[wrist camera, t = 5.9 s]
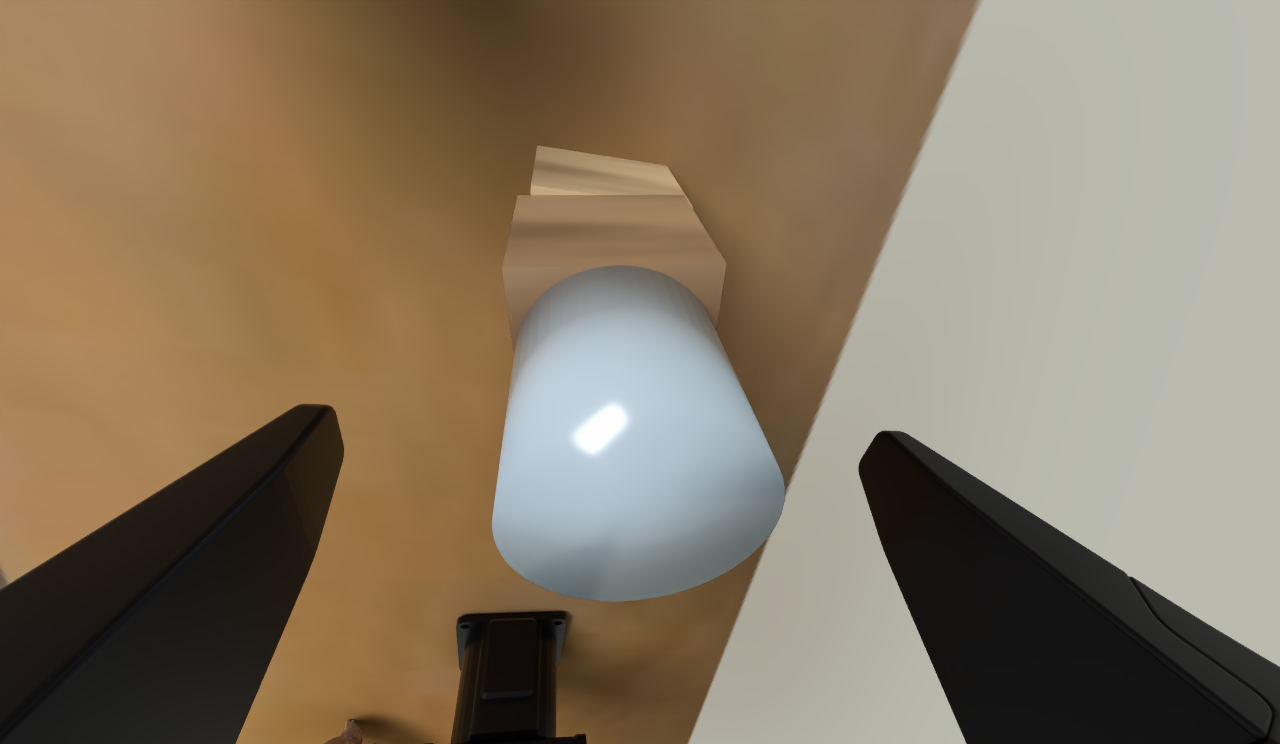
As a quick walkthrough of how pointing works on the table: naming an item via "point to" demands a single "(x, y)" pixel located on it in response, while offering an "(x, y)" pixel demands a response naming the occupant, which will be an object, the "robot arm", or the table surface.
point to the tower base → (598, 175)
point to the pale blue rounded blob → (628, 444)
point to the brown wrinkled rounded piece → (348, 735)
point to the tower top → (606, 245)
